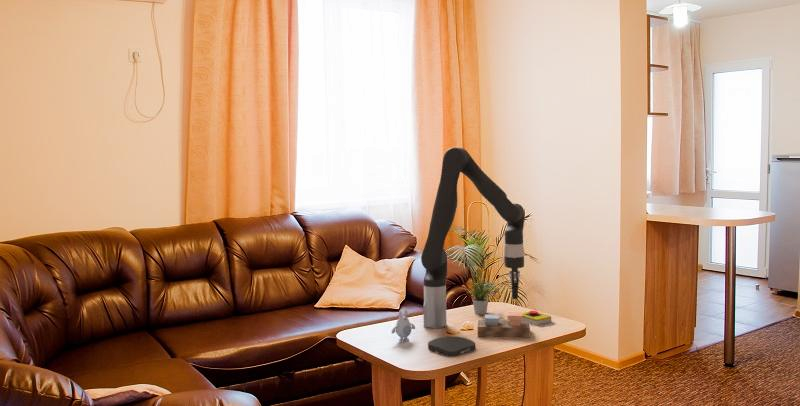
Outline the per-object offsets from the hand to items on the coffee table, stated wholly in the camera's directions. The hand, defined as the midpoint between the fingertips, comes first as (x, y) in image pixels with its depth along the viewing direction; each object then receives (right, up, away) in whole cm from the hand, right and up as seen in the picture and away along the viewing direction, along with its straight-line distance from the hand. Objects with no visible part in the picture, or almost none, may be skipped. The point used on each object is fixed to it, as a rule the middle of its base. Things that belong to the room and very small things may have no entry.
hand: (515, 298), depth 230 cm
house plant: (-8, -12, +32) cm, 35 cm away
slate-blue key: (-9, -12, +2) cm, 15 cm away
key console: (-4, -14, +2) cm, 15 cm away
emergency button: (+12, -13, +18) cm, 26 cm away
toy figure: (-44, -16, -5) cm, 47 cm away
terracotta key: (0, -10, +1) cm, 11 cm away
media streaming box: (-26, -17, -15) cm, 34 cm away
